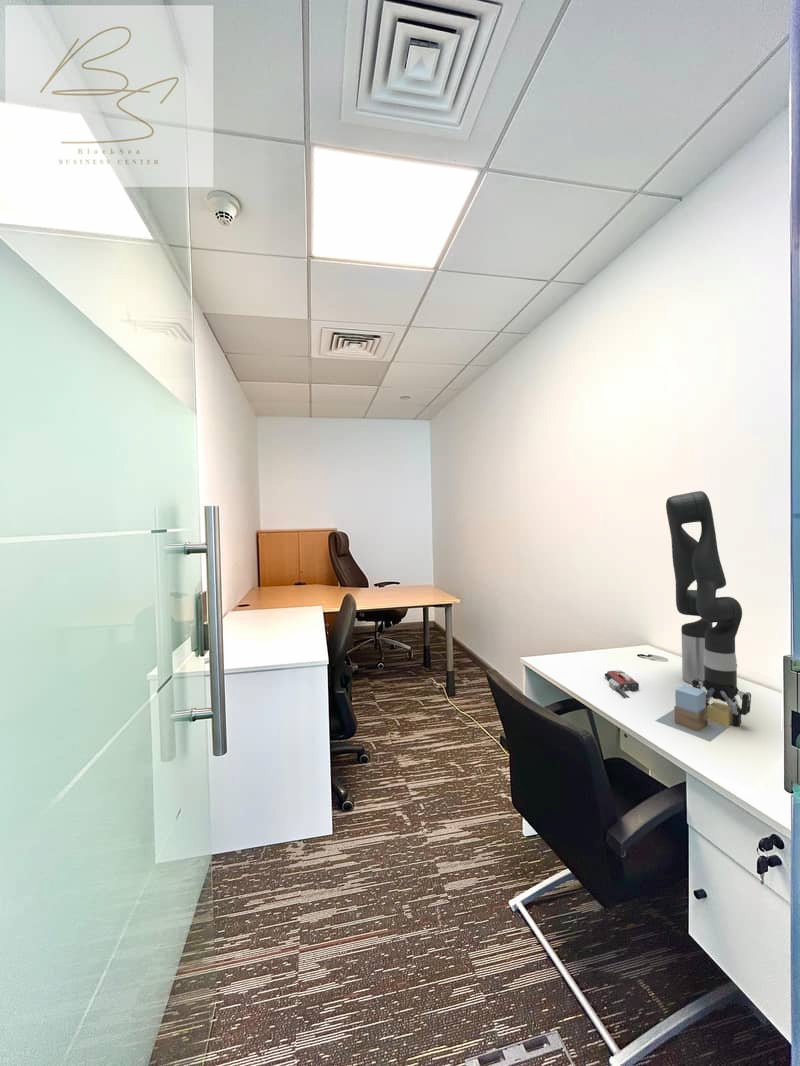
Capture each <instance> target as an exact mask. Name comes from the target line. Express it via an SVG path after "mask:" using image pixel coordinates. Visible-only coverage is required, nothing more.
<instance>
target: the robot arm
mask: <svg viewBox="0 0 800 1066" xmlns="http://www.w3.org/2000/svg"><path fill="white" fill-rule="evenodd" d="M665 511H666V516H667V521H668V526H669V533H670V537H671V538H670V539H671V553H672V554H671V555H672V564H673V565H672V566H673V570H674V571H673V572H674V577H675V578H674V580H675V606H676V609H677V611H678V613H679V614H681V615H685V616H696V617H700V619H698V620H696V621H693V622H687V623H684V624H682V625H681V628H680V630H681V666H682V667H681V668H682V669H681V671H682V674H681V675H682V680H683V681H684V682H686V683H688V684H691V685H692V686H691V687H695V688H698V689H702V687H704V688H705V691H706V708H707V706H708V705H710V700H711V699H715V700H720V701H721V702H725V703H726V705H728V706H729V707H731V709H732V711H733V723H732V726H733V727H737V726H738V727H739V726H740V725H741V724H742V716H747V715H748V714H749V713H750V712H751V703H752V702H751V701H752V694H751V693H750V692H747V691H746V692H744V691H741V690H739V688H738V686H737V684H738V673H737V671H738V664H737V656H736V636H737V635H738V632H739V629H740V625H741V621H742V619H743V609H742V606H741V603H740V602H739V601H738V600H737V599H736V598H735V597H732V596H731V597H730V596H720V597H719V596H718V597H717V596H716V595H717V594H716V593H717V590H719V589H722V588H724V587H725V586H727V580H726V576H725V572H724V570H723V569H724V568H723V566H722V562H721V559H720V553H719V550H718V541H717V534H716V527H715V522H714V521H715V520H714V516H713V510H712V505H711V502H710V499H709V496H708V495H707V494H706V492H705V491H703V490H702V491H701V490H698V491H692V492H688V493H686V492H685V493H682V494H677V495H671V496H669V497H668V498H667V499H666V502H665ZM697 522H700V527H701V529H700V530H701V532H700V537H699V540H698V541H697V539H695V538H694V537H692V535H690V534H689V533H688V532H687V531H686V530H685V529H684V527H683V526H682V525H684V524H689V523H697ZM694 582H696V589H689V588H690V586H691V585H692V584H693V583H694ZM713 623H715V624H716V625H715V626H713ZM736 696H738V697H739V699H740V700H741V706H740V704H739V701H738V700H737V698H736Z"/></svg>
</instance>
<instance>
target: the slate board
mask: <svg viewBox="0 0 800 1066" xmlns="http://www.w3.org/2000/svg"><path fill="white" fill-rule="evenodd" d="M655 722H657V723H660V724H662V725H665V726H668V727H669V728H670V727H671V728H673V729H675V730H679V731H681V732H684V733H686V734H689V735H692V736H694V737H697V738H699V739H702V740H704V741H707V742H712V741H713V740H714V739H716V738H717V737H719V735H721V734H722V733H724V732H725V731H726V730H727V729H729V728H730V726H726V725H723V724H720V723H717V722H714V721H711V720H708V725H707V726H706V727H704V728H703V729H701V730H700V731H695V730H692V729H690V728H687V727H684V726H682V725H679V724H676V723H675V711H674V709H672V710H671V711H668V712H667V713H666V714H663V715H662V716H661V717H659V718H656V719H655Z"/></svg>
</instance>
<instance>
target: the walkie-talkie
mask: <svg viewBox="0 0 800 1066" xmlns="http://www.w3.org/2000/svg"><path fill="white" fill-rule="evenodd" d="M604 676H605V678H606V679H607V681H609V682H608V683H609V684H608V685H609V687H610V688H611V689H612V690H613V691H615V690H617V692H619V693H620V694H621V695H623V696H624V697H625V698H626V699H627V698H628V699H629V698H630V695H628V694H627V693H626V692H628V691H629V692H630V691H631V692H632V691H633V692H636V691H639V690H640V689H639V688H640V686H639V685H640V684H639V682H638V681H636V680H635V679H633V678H632V677H631V676H630V675H628V674H627V673H626V672H624V671H622V670H608V671H607V672H606V673H604Z"/></svg>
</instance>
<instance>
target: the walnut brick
mask: <svg viewBox="0 0 800 1066" xmlns="http://www.w3.org/2000/svg"><path fill="white" fill-rule="evenodd" d="M673 710H674V711H675V723H676V724H679V725H682V726H684V727H687V728H690V729H692V730H695V731H700V730H701V729H703V728H704V727H706V726H707V725H708V708H705V709H703V710H702V711H700V712H699V713H694V712H691V711H688V710H685V709H682V708H679V707H676V705H674V708H673Z"/></svg>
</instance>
